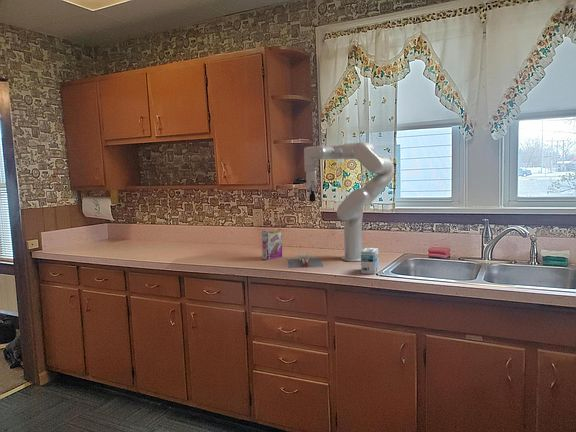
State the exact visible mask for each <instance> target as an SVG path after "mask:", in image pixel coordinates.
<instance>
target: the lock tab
mask: <svg viewBox="0 0 576 432" xmlns="http://www.w3.org/2000/svg"><path fill="white" fill-rule="evenodd" d="M298 257H299V260H300V261H301V257H307V260H308V261H309V258H310V255H309V254H308V253H299V255H298Z"/></svg>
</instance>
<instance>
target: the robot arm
mask: <svg viewBox="0 0 576 432" xmlns="http://www.w3.org/2000/svg"><path fill="white" fill-rule="evenodd" d="M375 152H376V149H375V146H374V145H373V144H372V143H370V142H363V141H359V142H353V143H352V142H347V143H344V144H342V145H341V144H340V145H317V146H305V147H304V149H303V158H304V161H303V162H304V173H305V172H306V173H305V174H306V178H305V179H306V183H305V184H306V190H309V192H308V193H309V195H308V196H309V197H308V199H309V202H313V203H314V202H316V189H317V172H319V161H318V160H356V161H358V162H359V163H360V164H361V165H362V166H363V167H364V168H365V169H366V170H367V172H370V173H371V174H374V176H373V177H372V178H371V179H369V180H368V182H367V183H366V184H365V185H364V186H363V187H359V188H356V189H354V190H352V191H351V192H350V193H349V194H348V195H347V196H346V197H345V198H344V199H343V200H342V202H340V204H339V205H338V206H337V209H336V216H337V218H338V219H339V220H340V221H343V222H344V224H343V226H344V228H343V234H344V235H343V236H344V237H343V238H344V256H341V259H342V261H344V262H353V263H355V262H361V251H362V250H363V218H364V217H363V216H364V208H363V207H366V206H369V205H371V204H372V203H373V202H374V201H375V200H376V198H378V196H380V194H382V192H383V191H384V190H385V189H386V188H387V187H388V185H389V184H390V183H391V181H392V180H393V178H394V175H395V166H394V163H393V161H392V160H391V159H390V158H388V157H385V156H378V155H377V154H376V153H375Z"/></svg>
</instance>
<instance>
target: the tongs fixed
mask: <svg viewBox="0 0 576 432" xmlns="http://www.w3.org/2000/svg"><path fill="white" fill-rule="evenodd" d="M304 260H305V264H306V267H305V268H310V267H309V262H308V260H307V257H304Z"/></svg>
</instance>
